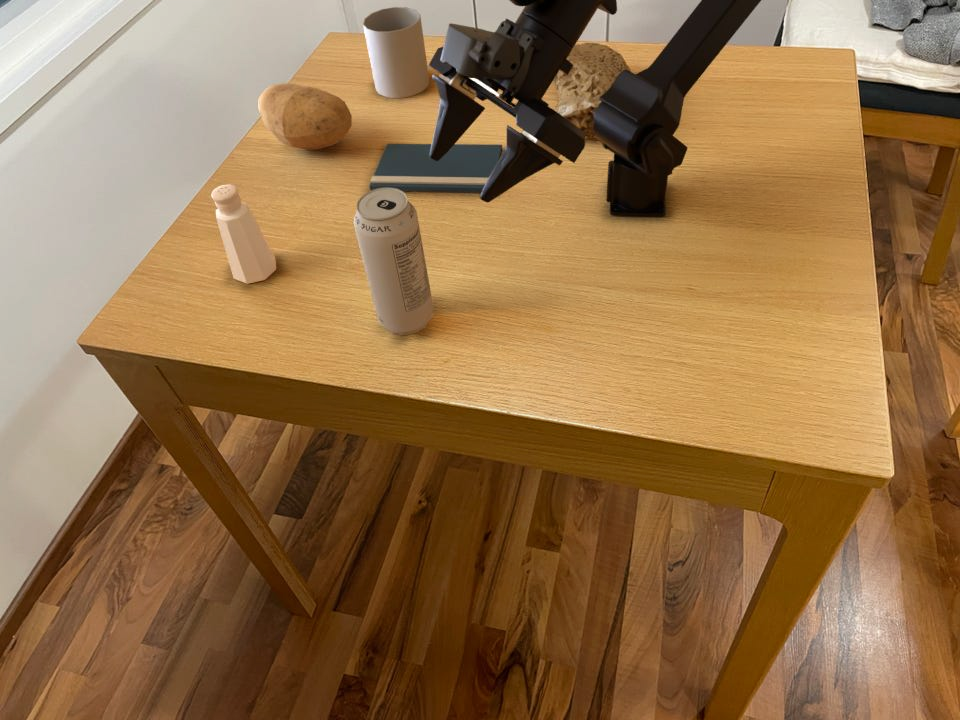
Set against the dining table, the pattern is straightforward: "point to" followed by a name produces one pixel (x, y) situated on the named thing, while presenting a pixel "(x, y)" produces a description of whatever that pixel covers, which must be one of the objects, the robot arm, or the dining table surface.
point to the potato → (304, 115)
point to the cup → (396, 51)
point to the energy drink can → (394, 260)
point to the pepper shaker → (242, 237)
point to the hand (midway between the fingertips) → (457, 179)
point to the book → (436, 168)
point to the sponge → (587, 82)
